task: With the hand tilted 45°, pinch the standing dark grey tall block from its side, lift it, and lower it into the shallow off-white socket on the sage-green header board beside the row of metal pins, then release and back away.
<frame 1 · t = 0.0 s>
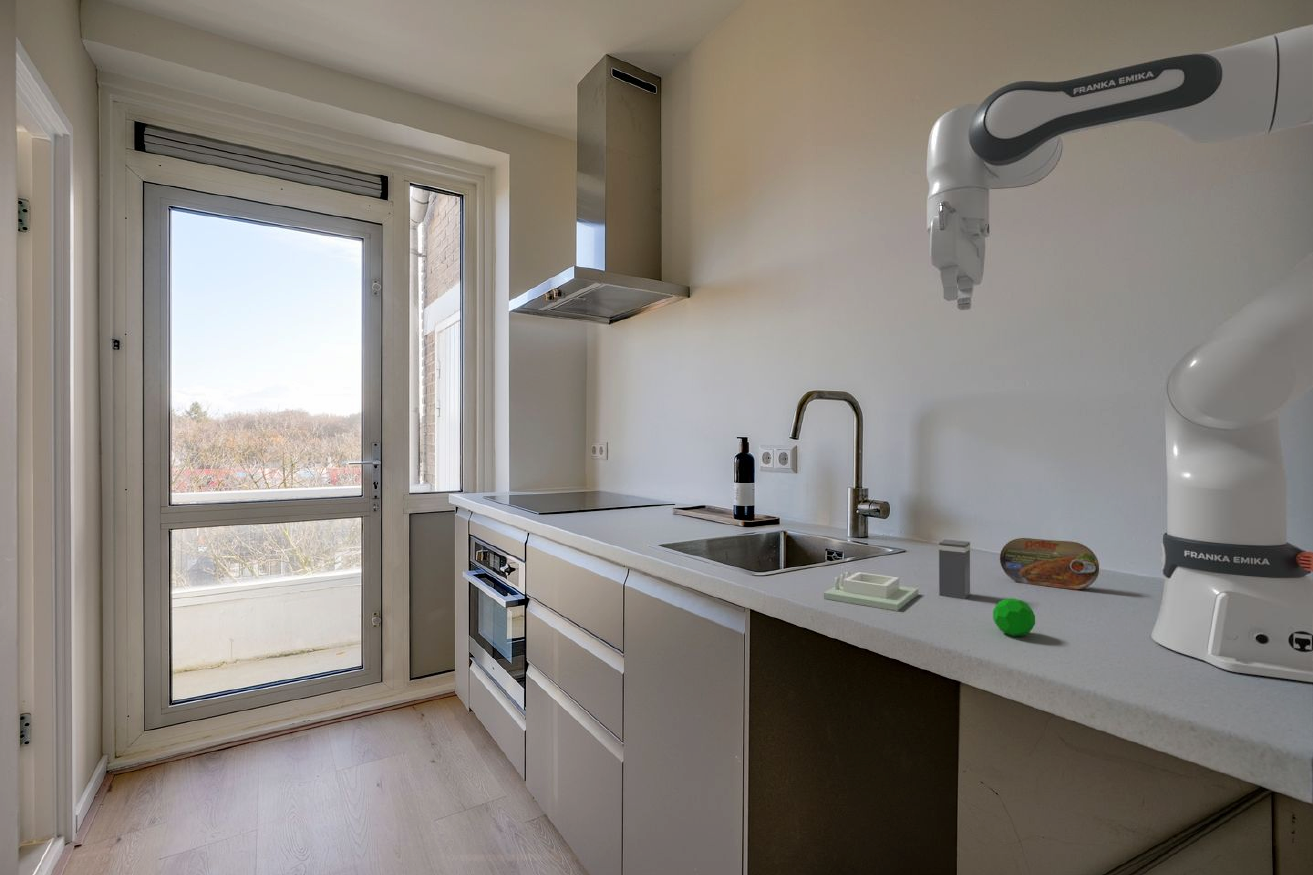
hand: (957, 304, 95), 48 cm above the counter, tool pointing down, fingers open, 8 cm apart
dark grey tall block: (954, 594, 103), on the counter
tin: (1048, 586, 109), on the counter
polyhedron: (1013, 635, 83), on the counter
header board: (871, 596, 103), on the counter
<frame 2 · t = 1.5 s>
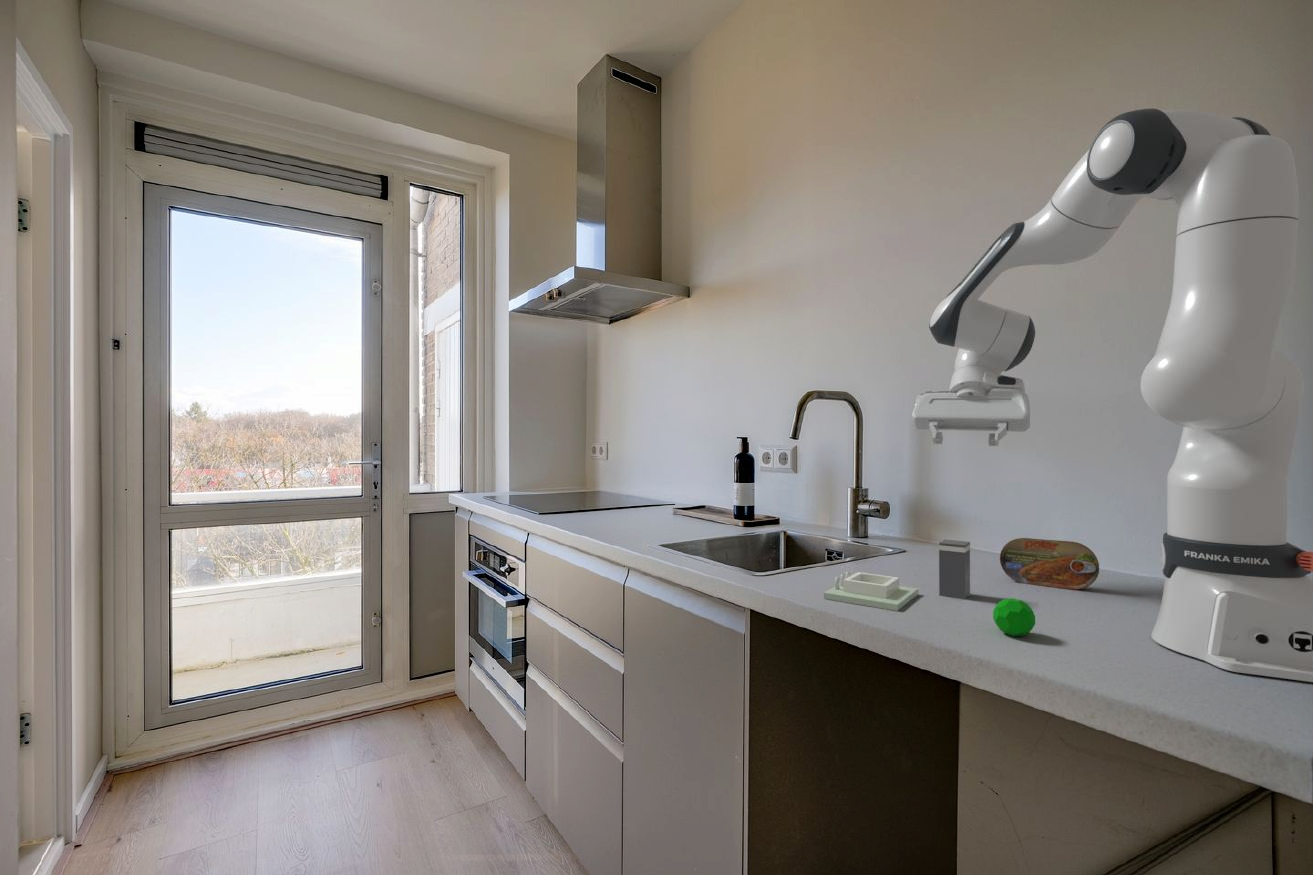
hand: (964, 442, 112), 26 cm above the counter, tool tilted 45°, fingers open, 8 cm apart
nothing on the counter moved.
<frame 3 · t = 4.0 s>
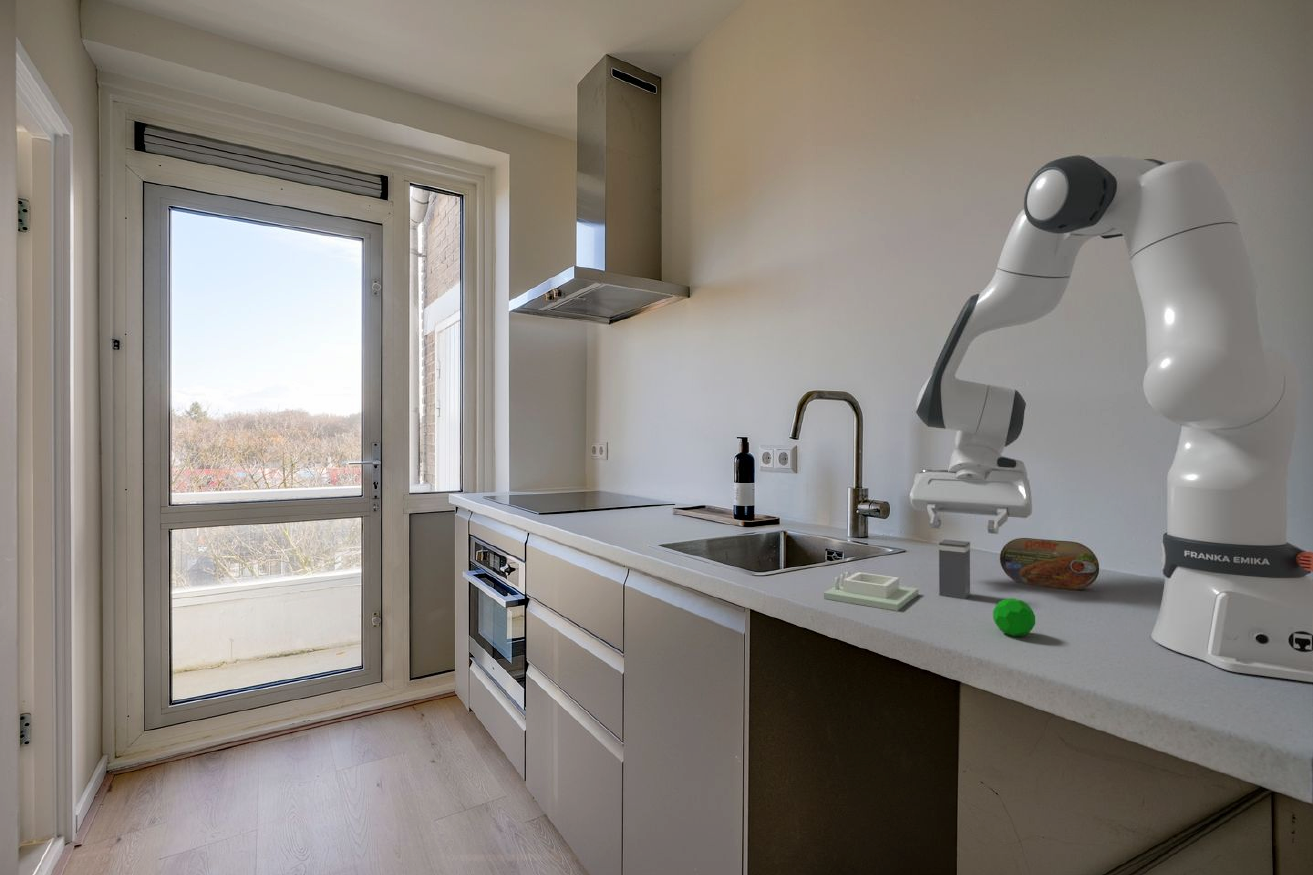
hand: (962, 529, 108), 10 cm above the counter, tool tilted 45°, fingers open, 8 cm apart
nothing on the counter moved.
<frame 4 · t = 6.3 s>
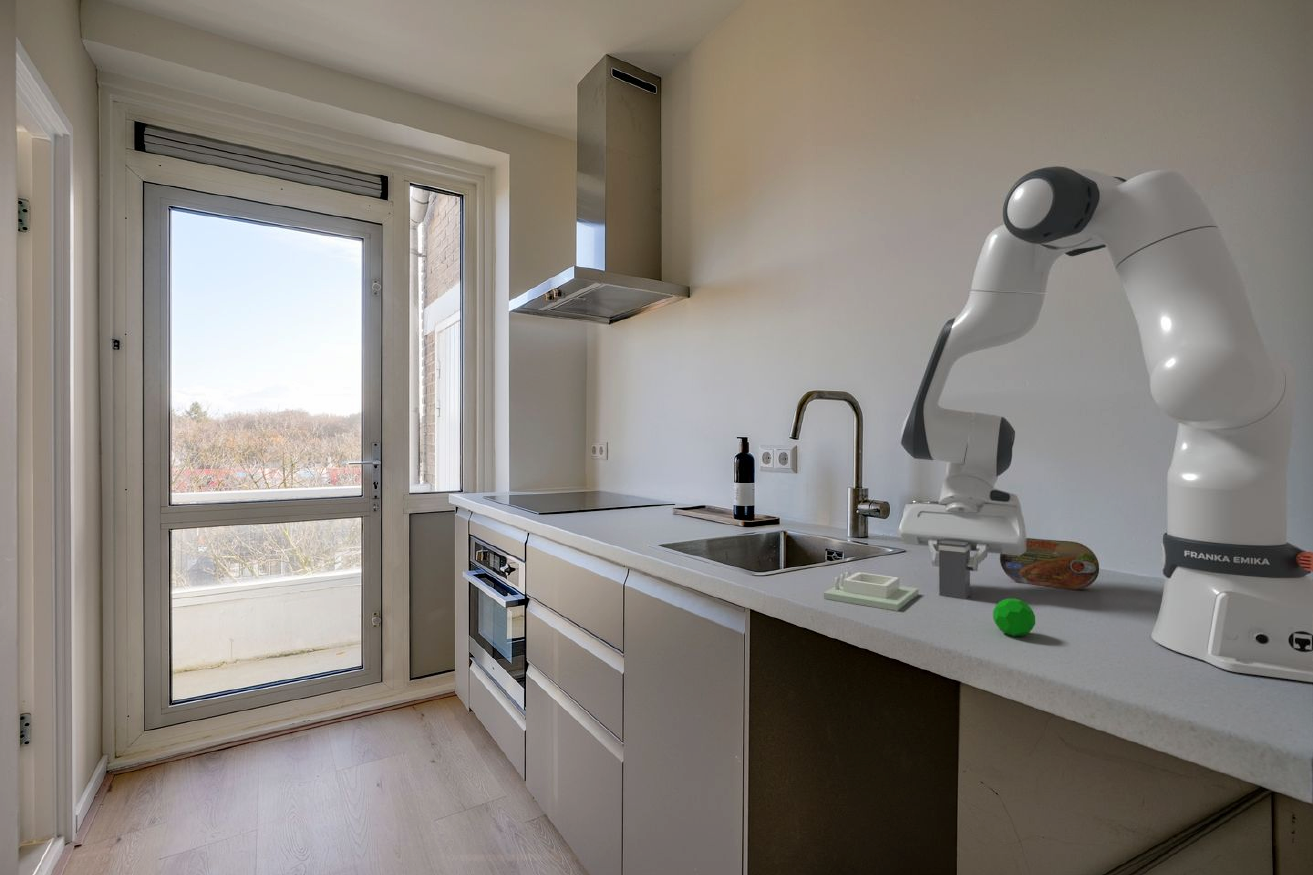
hand: (953, 566, 103), 5 cm above the counter, tool tilted 45°, fingers closed on dark grey tall block, 4 cm apart
dark grey tall block: (954, 594, 103), on the counter, touching gripper
everything else where it was.
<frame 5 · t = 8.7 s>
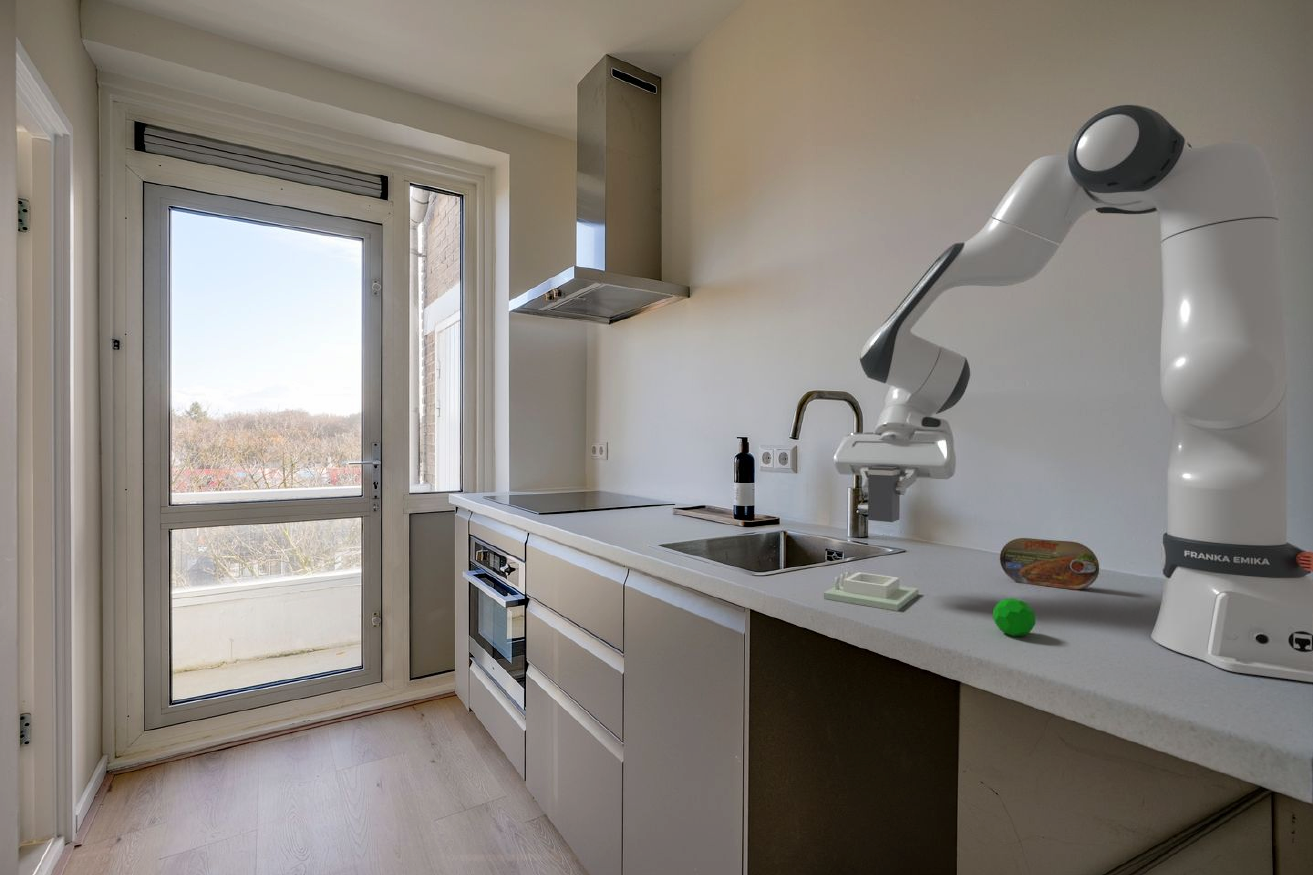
hand: (882, 491, 103), 18 cm above the counter, tool tilted 45°, fingers closed on dark grey tall block, 4 cm apart
dark grey tall block: (883, 519, 103), point 13 cm above the counter, touching gripper
everything else where it was.
when the fingers open (7 cm above the counter, at t = 11.2 s): dark grey tall block drops 1 cm, resting on header board.
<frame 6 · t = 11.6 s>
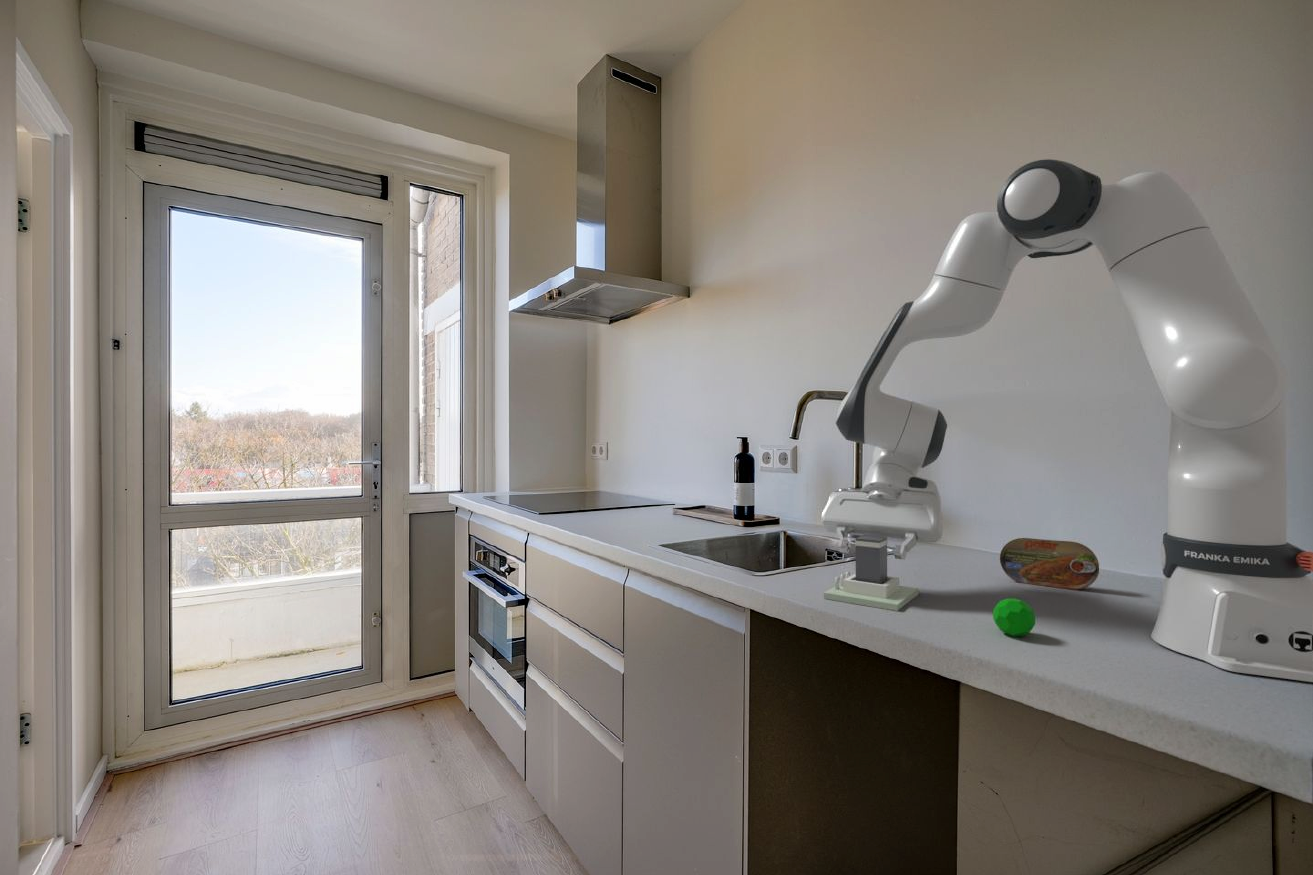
hand: (870, 553, 102), 7 cm above the counter, tool tilted 45°, fingers open, 8 cm apart
dark grey tall block: (871, 590, 103), point 1 cm above the counter, touching header board
everything else where it was.
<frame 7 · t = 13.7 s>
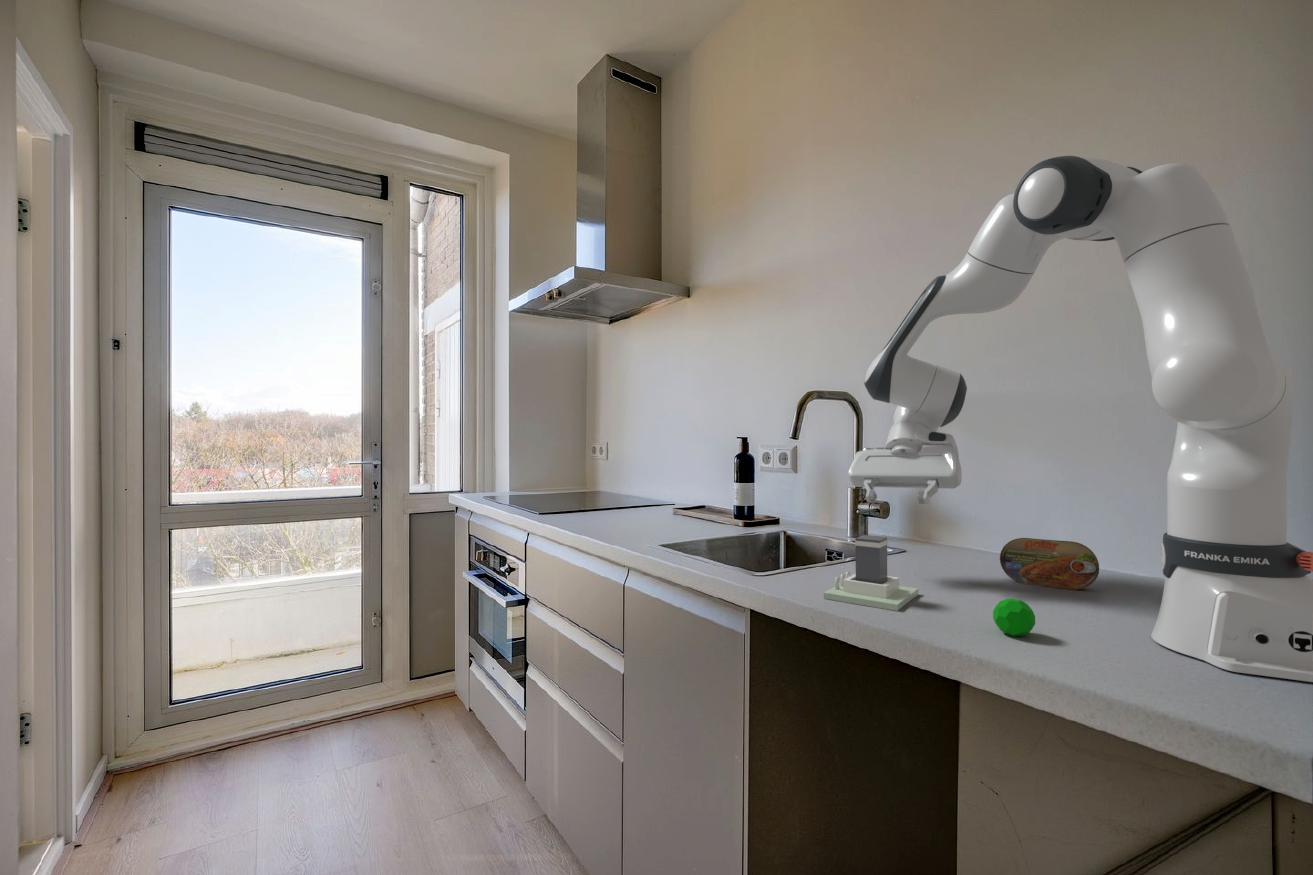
hand: (895, 501, 112), 15 cm above the counter, tool tilted 45°, fingers open, 8 cm apart
nothing on the counter moved.
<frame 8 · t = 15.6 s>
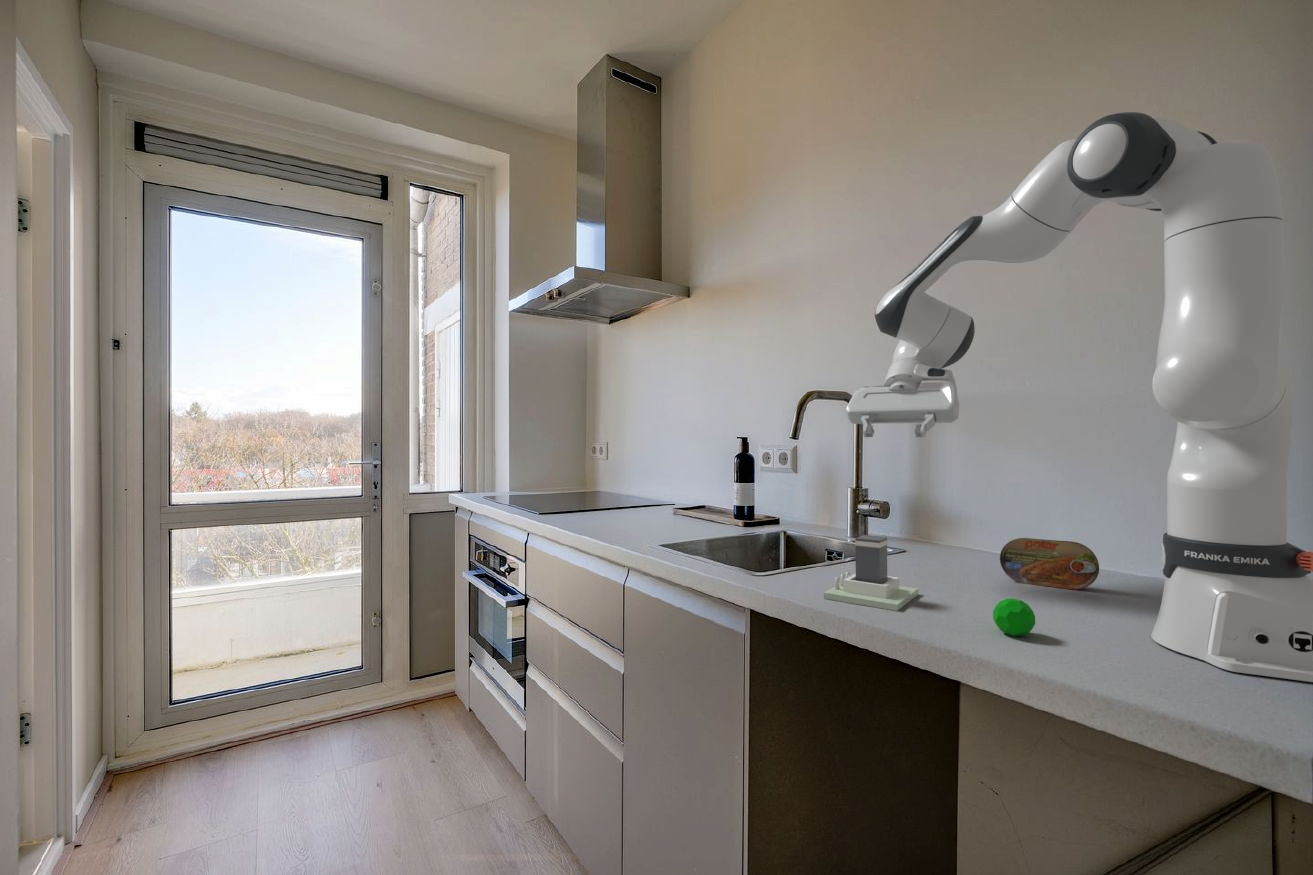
hand: (892, 435, 112), 27 cm above the counter, tool tilted 45°, fingers open, 8 cm apart
nothing on the counter moved.
at the end: dark grey tall block 0.0 cm off-centre on the header board, point 1.0 cm above the header board's base; dark grey tall block tilted 0°; the gripper is holding nothing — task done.
